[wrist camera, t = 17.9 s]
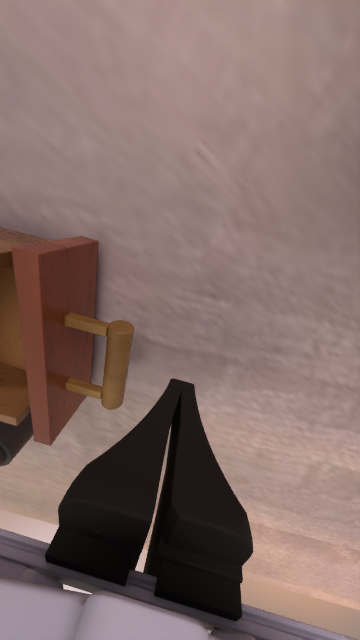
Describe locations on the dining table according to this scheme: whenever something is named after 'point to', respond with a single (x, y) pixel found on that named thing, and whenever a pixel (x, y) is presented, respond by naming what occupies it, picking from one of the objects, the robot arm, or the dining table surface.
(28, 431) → the pepper mill
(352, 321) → the dining table surface
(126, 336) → the drawer
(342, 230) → the dining table surface
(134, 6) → the dining table surface
